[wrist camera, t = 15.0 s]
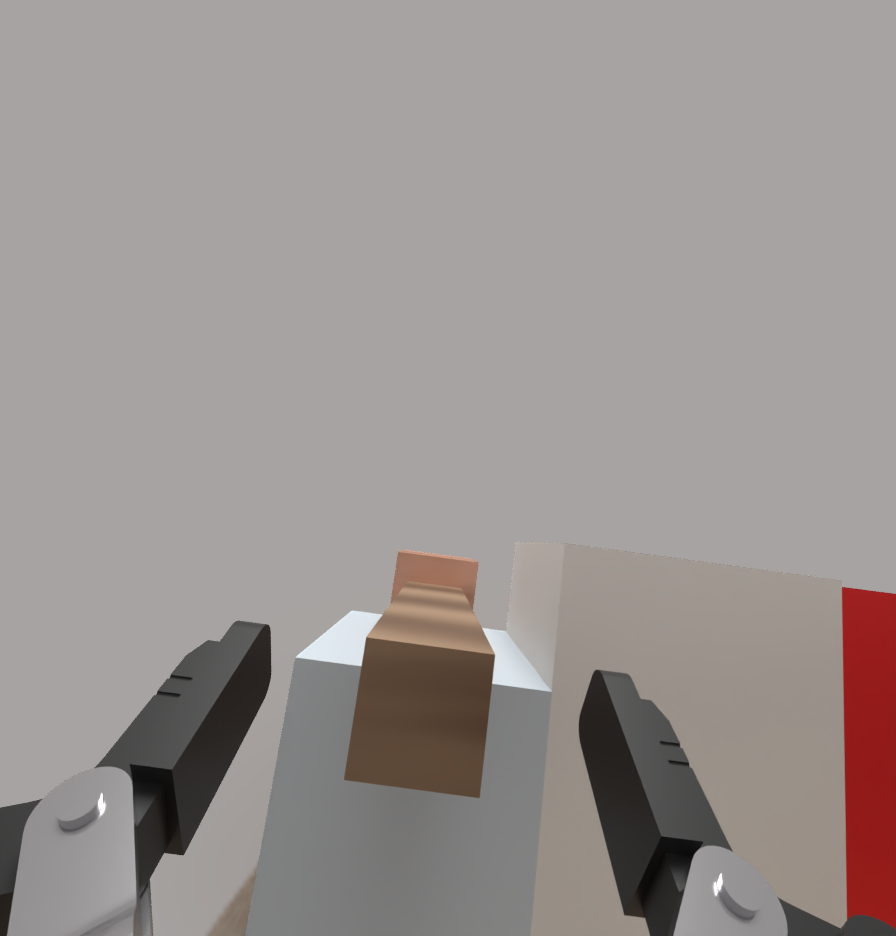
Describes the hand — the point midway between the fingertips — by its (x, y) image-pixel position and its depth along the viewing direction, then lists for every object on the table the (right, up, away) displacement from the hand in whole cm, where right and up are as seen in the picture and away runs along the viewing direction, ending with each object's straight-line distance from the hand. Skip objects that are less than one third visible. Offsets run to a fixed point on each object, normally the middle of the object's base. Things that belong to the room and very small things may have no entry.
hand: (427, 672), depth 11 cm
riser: (+4, -32, +17) cm, 36 cm away
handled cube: (-1, -6, +14) cm, 16 cm away
